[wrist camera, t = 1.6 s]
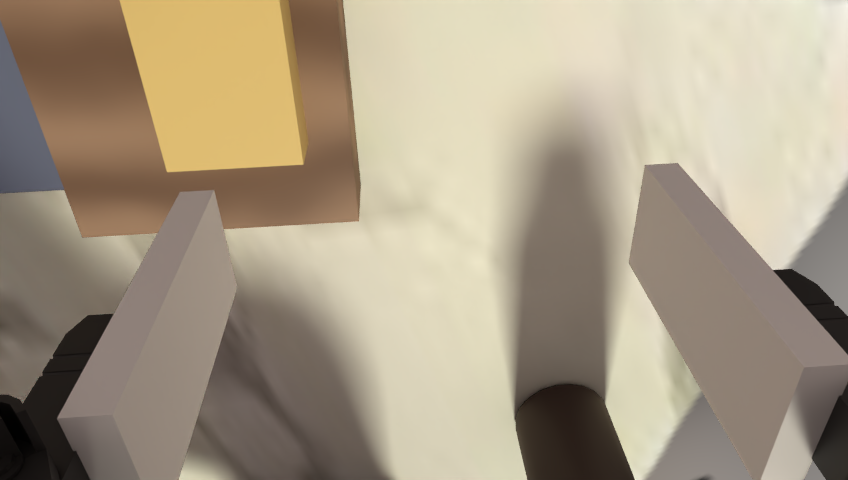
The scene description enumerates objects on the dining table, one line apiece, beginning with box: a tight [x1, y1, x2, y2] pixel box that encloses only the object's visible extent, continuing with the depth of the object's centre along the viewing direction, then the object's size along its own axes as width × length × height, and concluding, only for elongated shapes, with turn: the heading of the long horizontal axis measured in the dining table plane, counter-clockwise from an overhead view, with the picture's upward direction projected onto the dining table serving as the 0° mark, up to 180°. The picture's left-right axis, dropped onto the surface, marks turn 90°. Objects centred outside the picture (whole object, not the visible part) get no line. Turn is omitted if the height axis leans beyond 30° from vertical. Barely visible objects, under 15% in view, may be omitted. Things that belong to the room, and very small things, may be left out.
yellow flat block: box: [120, 0, 308, 172], centre depth 27 cm, size 9×6×2 cm, turn 2°
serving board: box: [0, 0, 361, 237], centre depth 30 cm, size 18×14×4 cm
